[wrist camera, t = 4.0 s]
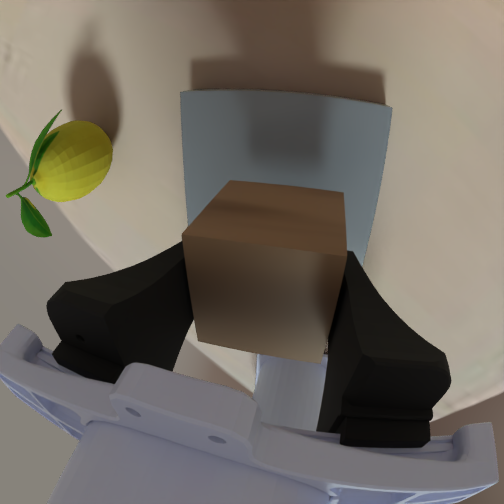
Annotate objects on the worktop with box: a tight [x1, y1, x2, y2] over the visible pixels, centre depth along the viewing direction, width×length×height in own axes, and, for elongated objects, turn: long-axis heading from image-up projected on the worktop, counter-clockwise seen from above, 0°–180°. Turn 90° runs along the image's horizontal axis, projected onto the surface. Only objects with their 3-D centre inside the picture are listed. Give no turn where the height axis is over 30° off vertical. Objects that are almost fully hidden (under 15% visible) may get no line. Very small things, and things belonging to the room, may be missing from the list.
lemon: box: [6, 110, 113, 237], centre depth 17 cm, size 7×6×10 cm
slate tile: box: [180, 89, 392, 266], centre depth 19 cm, size 12×12×2 cm
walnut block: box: [182, 180, 347, 364], centre depth 12 cm, size 5×5×5 cm
